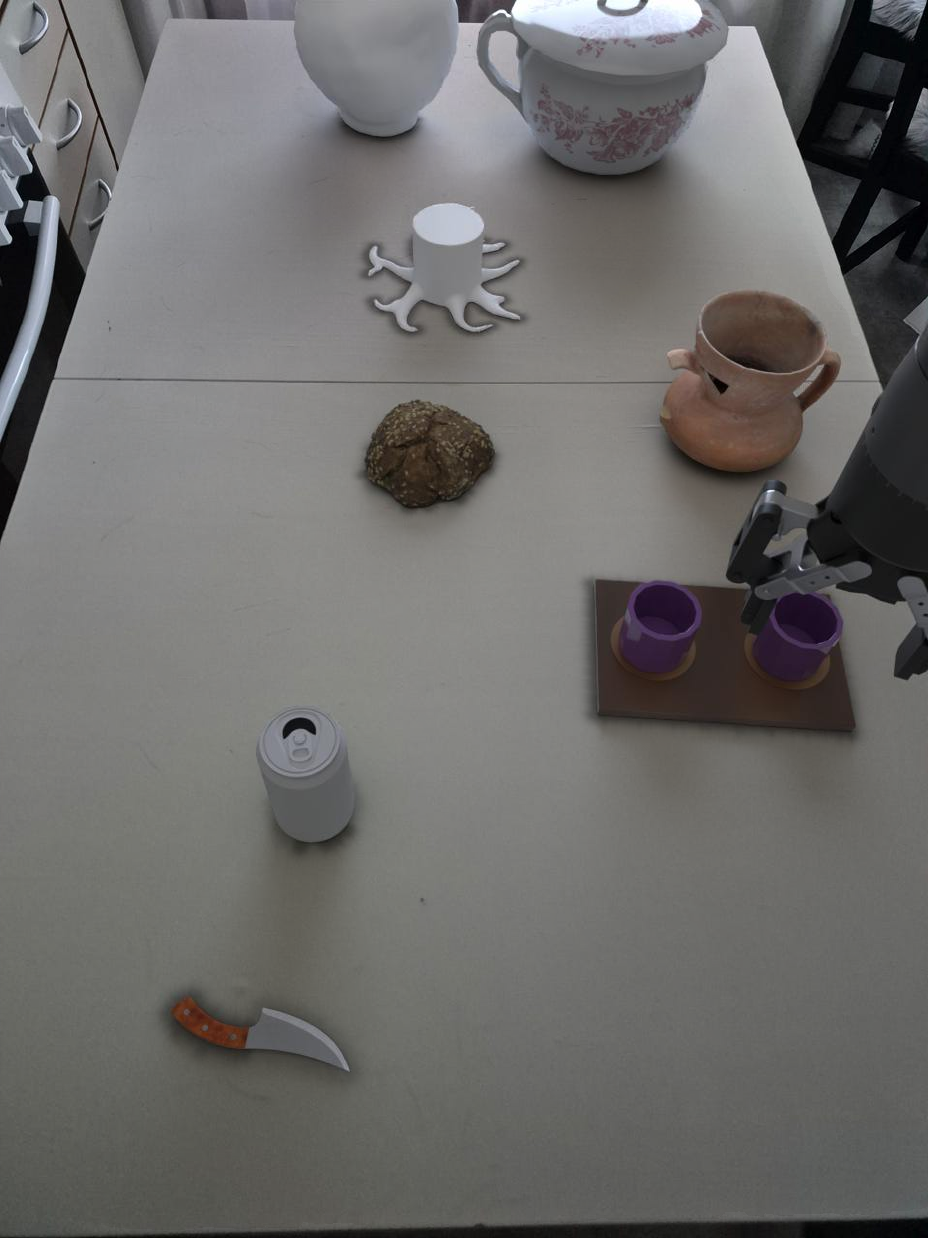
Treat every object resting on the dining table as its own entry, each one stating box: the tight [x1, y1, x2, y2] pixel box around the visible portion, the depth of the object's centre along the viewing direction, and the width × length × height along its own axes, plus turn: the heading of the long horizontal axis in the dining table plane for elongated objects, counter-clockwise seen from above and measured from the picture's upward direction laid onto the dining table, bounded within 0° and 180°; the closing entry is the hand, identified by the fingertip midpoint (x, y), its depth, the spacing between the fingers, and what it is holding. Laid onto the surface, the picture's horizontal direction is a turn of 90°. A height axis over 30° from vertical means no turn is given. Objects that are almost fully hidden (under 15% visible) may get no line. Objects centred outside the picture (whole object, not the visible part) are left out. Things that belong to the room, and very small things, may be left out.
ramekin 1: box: [618, 579, 702, 674], centre depth 84 cm, size 6×6×5 cm
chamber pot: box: [475, 0, 730, 176], centre depth 126 cm, size 28×28×21 cm
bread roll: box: [364, 398, 496, 508], centre depth 97 cm, size 13×12×5 cm
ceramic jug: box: [659, 288, 842, 473], centre depth 97 cm, size 18×14×14 cm
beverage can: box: [255, 704, 356, 843], centre depth 72 cm, size 6×6×12 cm
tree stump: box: [367, 201, 521, 333], centre depth 113 cm, size 20×19×8 cm
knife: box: [170, 997, 351, 1072], centre depth 67 cm, size 13×1×3 cm
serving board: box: [593, 578, 856, 732], centre depth 87 cm, size 22×14×1 cm, turn 87°
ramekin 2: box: [752, 591, 844, 682], centre depth 84 cm, size 6×6×5 cm
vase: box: [293, 0, 460, 138], centre depth 124 cm, size 19×21×30 cm
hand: (827, 644), depth 56 cm, fingers open, 8 cm apart
